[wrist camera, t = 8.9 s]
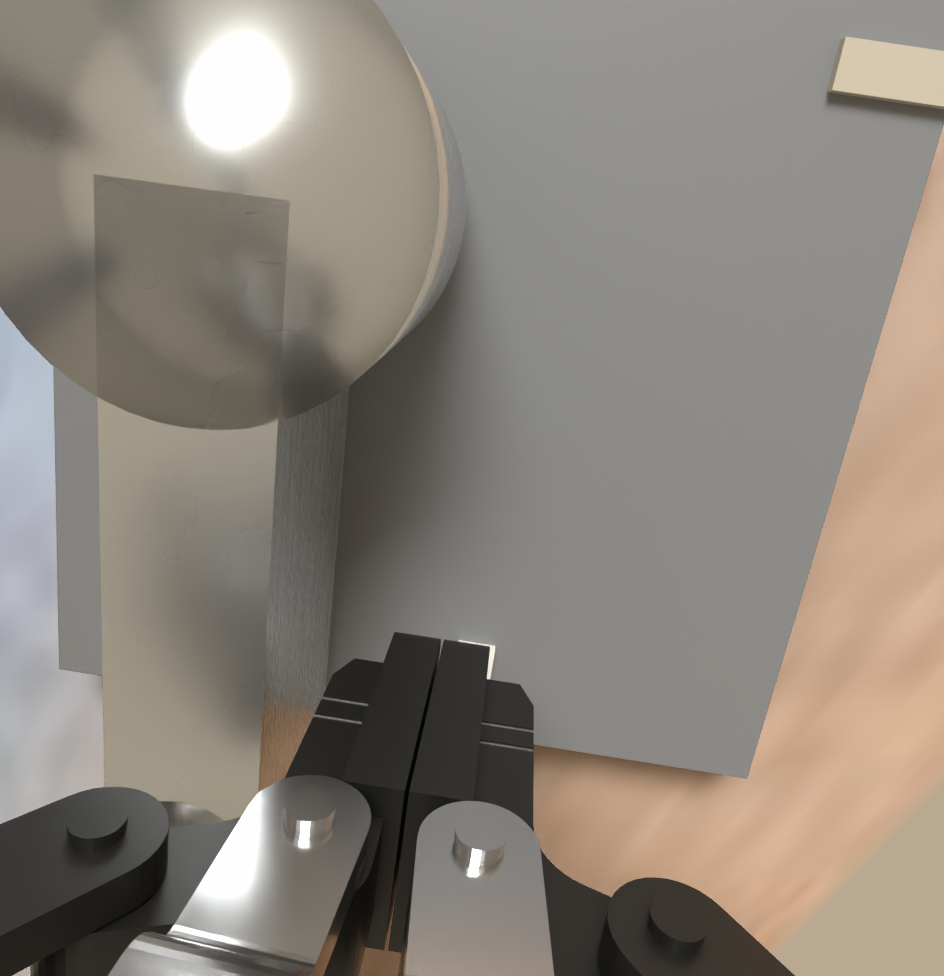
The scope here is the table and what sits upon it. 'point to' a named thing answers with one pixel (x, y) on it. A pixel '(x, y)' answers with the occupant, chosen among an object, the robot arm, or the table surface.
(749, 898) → the table surface
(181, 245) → the lever
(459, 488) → the base
